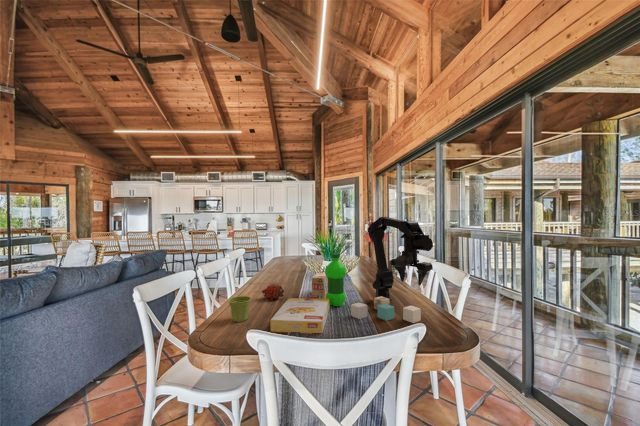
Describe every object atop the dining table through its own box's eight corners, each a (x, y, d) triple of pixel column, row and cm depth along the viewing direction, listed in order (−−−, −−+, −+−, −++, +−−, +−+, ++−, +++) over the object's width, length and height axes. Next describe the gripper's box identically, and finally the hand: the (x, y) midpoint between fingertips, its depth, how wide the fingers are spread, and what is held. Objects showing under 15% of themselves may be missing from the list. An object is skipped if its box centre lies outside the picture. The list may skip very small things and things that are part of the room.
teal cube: (377, 317, 122) (377, 305, 122) (385, 315, 125) (385, 303, 125) (386, 321, 118) (386, 309, 118) (394, 318, 121) (394, 306, 121)
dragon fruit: (285, 302, 148) (263, 305, 149) (286, 289, 155) (265, 292, 156) (281, 292, 144) (258, 295, 145) (282, 279, 151) (261, 282, 152)
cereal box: (329, 297, 133) (322, 319, 105) (329, 309, 133) (323, 334, 105) (287, 297, 136) (269, 318, 108) (287, 309, 136) (269, 333, 108)
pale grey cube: (351, 315, 125) (351, 304, 125) (359, 313, 127) (359, 302, 127) (358, 319, 120) (358, 307, 120) (367, 316, 123) (367, 305, 123)
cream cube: (403, 319, 120) (403, 307, 120) (410, 317, 123) (410, 305, 123) (413, 323, 116) (413, 311, 116) (420, 320, 118) (420, 308, 118)
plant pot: (230, 325, 114) (230, 303, 114) (226, 318, 123) (226, 297, 123) (253, 321, 119) (253, 300, 119) (248, 314, 127) (248, 294, 127)
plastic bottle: (331, 300, 146) (331, 252, 146) (350, 303, 141) (349, 253, 141) (321, 306, 138) (321, 254, 138) (340, 309, 132) (340, 255, 132)
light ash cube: (374, 308, 134) (374, 298, 134) (381, 306, 137) (381, 296, 137) (382, 311, 130) (381, 300, 130) (389, 309, 132) (389, 298, 132)
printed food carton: (321, 290, 167) (320, 269, 167) (331, 290, 166) (331, 269, 166) (311, 301, 146) (311, 277, 146) (323, 301, 145) (323, 277, 145)
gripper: (382, 248, 131) (382, 282, 131) (416, 252, 116) (417, 290, 116) (398, 246, 138) (398, 278, 138) (433, 250, 122) (433, 286, 122)
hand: (410, 283), depth 128 cm, fingers open, 9 cm apart
